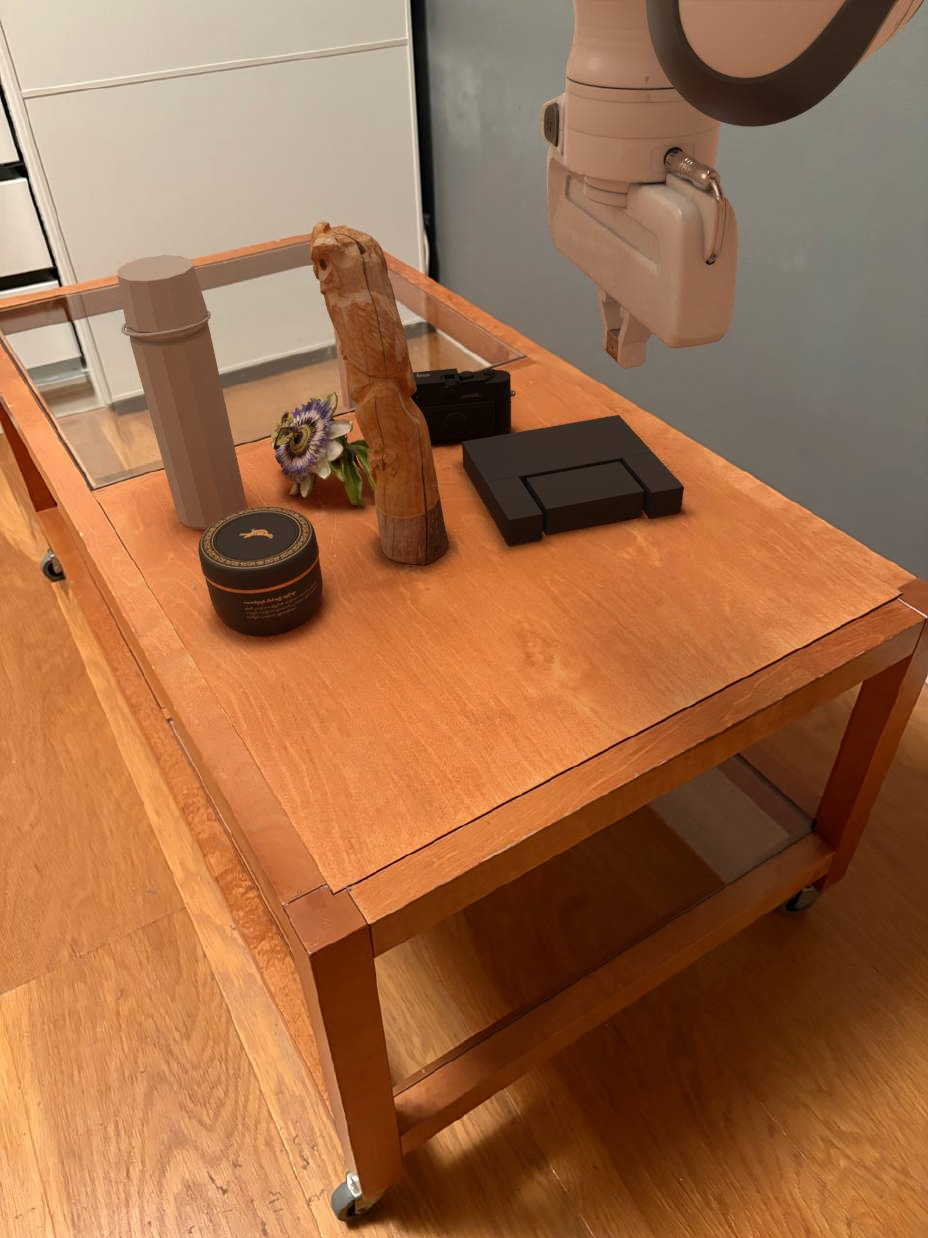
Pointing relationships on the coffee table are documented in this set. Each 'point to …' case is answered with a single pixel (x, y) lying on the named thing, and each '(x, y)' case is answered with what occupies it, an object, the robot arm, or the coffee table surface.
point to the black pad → (586, 497)
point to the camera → (464, 404)
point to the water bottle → (182, 386)
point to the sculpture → (382, 391)
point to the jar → (262, 570)
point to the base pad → (561, 469)
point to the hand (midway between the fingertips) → (623, 359)
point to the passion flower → (320, 449)
